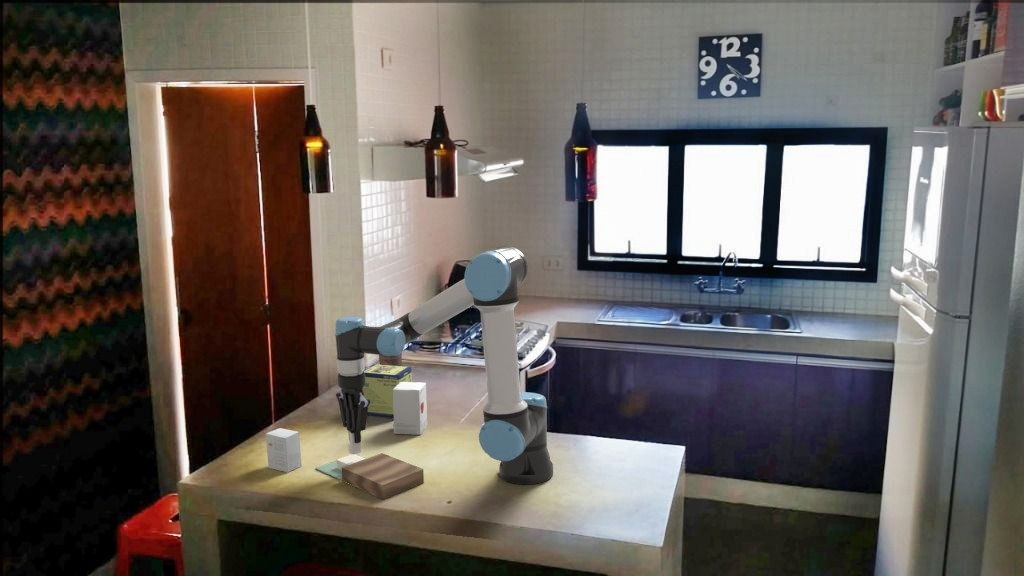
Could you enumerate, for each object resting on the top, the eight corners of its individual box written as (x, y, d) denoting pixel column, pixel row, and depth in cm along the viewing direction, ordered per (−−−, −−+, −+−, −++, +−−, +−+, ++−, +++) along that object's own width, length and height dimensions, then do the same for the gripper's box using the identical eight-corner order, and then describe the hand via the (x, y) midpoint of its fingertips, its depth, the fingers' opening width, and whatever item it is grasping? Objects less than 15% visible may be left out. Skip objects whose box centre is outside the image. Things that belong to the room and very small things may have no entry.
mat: (380, 465, 237) (380, 463, 237) (340, 480, 227) (340, 478, 227) (355, 455, 245) (355, 453, 245) (315, 469, 235) (315, 467, 235)
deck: (423, 482, 224) (423, 469, 224) (383, 499, 214) (382, 485, 214) (382, 466, 237) (382, 452, 236) (342, 481, 226) (341, 467, 226)
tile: (371, 468, 234) (370, 460, 233) (353, 475, 229) (353, 466, 229) (354, 461, 239) (353, 453, 239) (336, 467, 235) (336, 459, 234)
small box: (302, 466, 237) (299, 431, 236) (287, 473, 233) (285, 437, 231) (282, 461, 241) (279, 427, 240) (267, 467, 237) (265, 433, 235)
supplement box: (420, 435, 261) (419, 390, 258) (393, 434, 262) (391, 389, 260) (428, 425, 270) (426, 381, 267) (401, 424, 271) (400, 381, 268)
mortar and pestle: (401, 379, 323) (399, 329, 320) (413, 383, 317) (412, 333, 313) (376, 385, 316) (373, 334, 312) (388, 390, 309) (385, 338, 306)
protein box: (401, 419, 276) (399, 374, 274) (359, 415, 281) (357, 371, 278) (414, 409, 286) (412, 366, 283) (373, 406, 291) (371, 363, 288)
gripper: (376, 373, 227) (380, 454, 231) (348, 365, 235) (352, 443, 240) (354, 379, 221) (358, 462, 225) (326, 371, 230) (331, 450, 234)
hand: (355, 452), depth 233 cm, fingers closed
